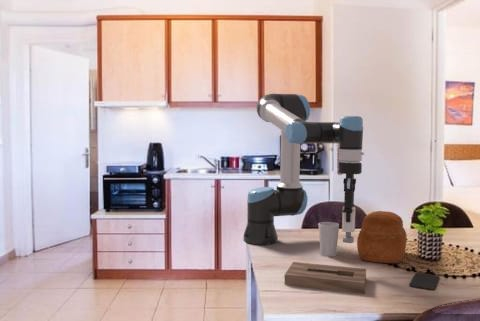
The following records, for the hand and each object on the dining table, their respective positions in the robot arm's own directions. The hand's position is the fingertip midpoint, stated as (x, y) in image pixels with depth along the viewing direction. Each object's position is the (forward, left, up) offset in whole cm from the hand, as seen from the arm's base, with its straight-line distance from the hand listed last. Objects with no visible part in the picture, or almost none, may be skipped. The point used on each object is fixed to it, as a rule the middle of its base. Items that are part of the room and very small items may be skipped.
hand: (348, 229), depth 146 cm
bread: (-23, +11, -15) cm, 29 cm away
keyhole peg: (0, 0, -4) cm, 4 cm away
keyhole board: (+13, -6, -14) cm, 20 cm away
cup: (-19, -9, -15) cm, 25 cm away
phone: (+3, +24, -15) cm, 29 cm away
